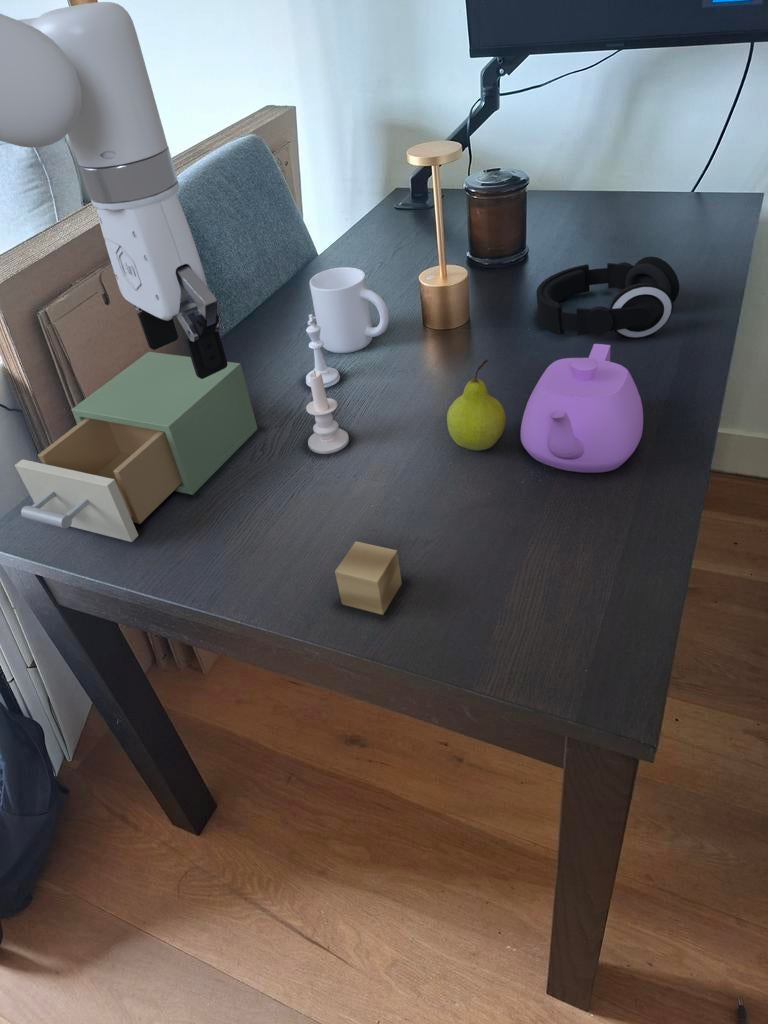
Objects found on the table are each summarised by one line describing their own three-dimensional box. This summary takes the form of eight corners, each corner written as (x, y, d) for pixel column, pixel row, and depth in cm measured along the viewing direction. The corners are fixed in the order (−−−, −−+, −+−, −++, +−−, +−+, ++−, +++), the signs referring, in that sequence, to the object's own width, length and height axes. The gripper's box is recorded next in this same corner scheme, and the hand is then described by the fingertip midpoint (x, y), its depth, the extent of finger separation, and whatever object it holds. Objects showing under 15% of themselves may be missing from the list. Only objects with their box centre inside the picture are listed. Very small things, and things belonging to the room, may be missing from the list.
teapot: (494, 488, 85) (492, 403, 78) (549, 398, 98) (550, 318, 91) (615, 512, 80) (624, 423, 73) (655, 413, 93) (666, 330, 86)
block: (383, 615, 72) (377, 581, 69) (341, 604, 74) (334, 571, 71) (402, 583, 75) (397, 550, 72) (361, 573, 77) (355, 540, 74)
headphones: (666, 293, 99) (519, 298, 108) (666, 348, 104) (525, 349, 113) (687, 244, 111) (552, 253, 120) (686, 295, 116) (556, 300, 125)
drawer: (106, 568, 81) (78, 511, 76) (15, 542, 86) (-16, 487, 81) (202, 471, 93) (184, 416, 88) (118, 454, 98) (96, 402, 93)
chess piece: (300, 386, 108) (286, 322, 102) (315, 370, 112) (302, 306, 106) (331, 390, 107) (319, 324, 100) (345, 372, 110) (334, 308, 104)
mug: (404, 336, 117) (397, 271, 110) (378, 361, 112) (369, 295, 105) (338, 327, 122) (328, 264, 116) (310, 350, 117) (298, 286, 110)
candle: (317, 459, 94) (301, 385, 87) (302, 439, 98) (286, 367, 91) (355, 445, 95) (343, 371, 89) (339, 426, 99) (326, 354, 93)
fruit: (437, 450, 92) (429, 362, 85) (471, 424, 96) (466, 337, 88) (483, 468, 88) (479, 377, 81) (517, 440, 92) (516, 351, 84)
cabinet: (192, 495, 91) (168, 426, 85) (99, 475, 97) (70, 409, 91) (257, 428, 101) (240, 363, 95) (170, 414, 107) (148, 351, 101)
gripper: (51, 176, 68) (116, 348, 79) (137, 207, 57) (199, 401, 68) (126, 154, 72) (178, 321, 83) (220, 179, 61) (267, 368, 72)
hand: (187, 357), depth 75 cm, fingers open, 9 cm apart
